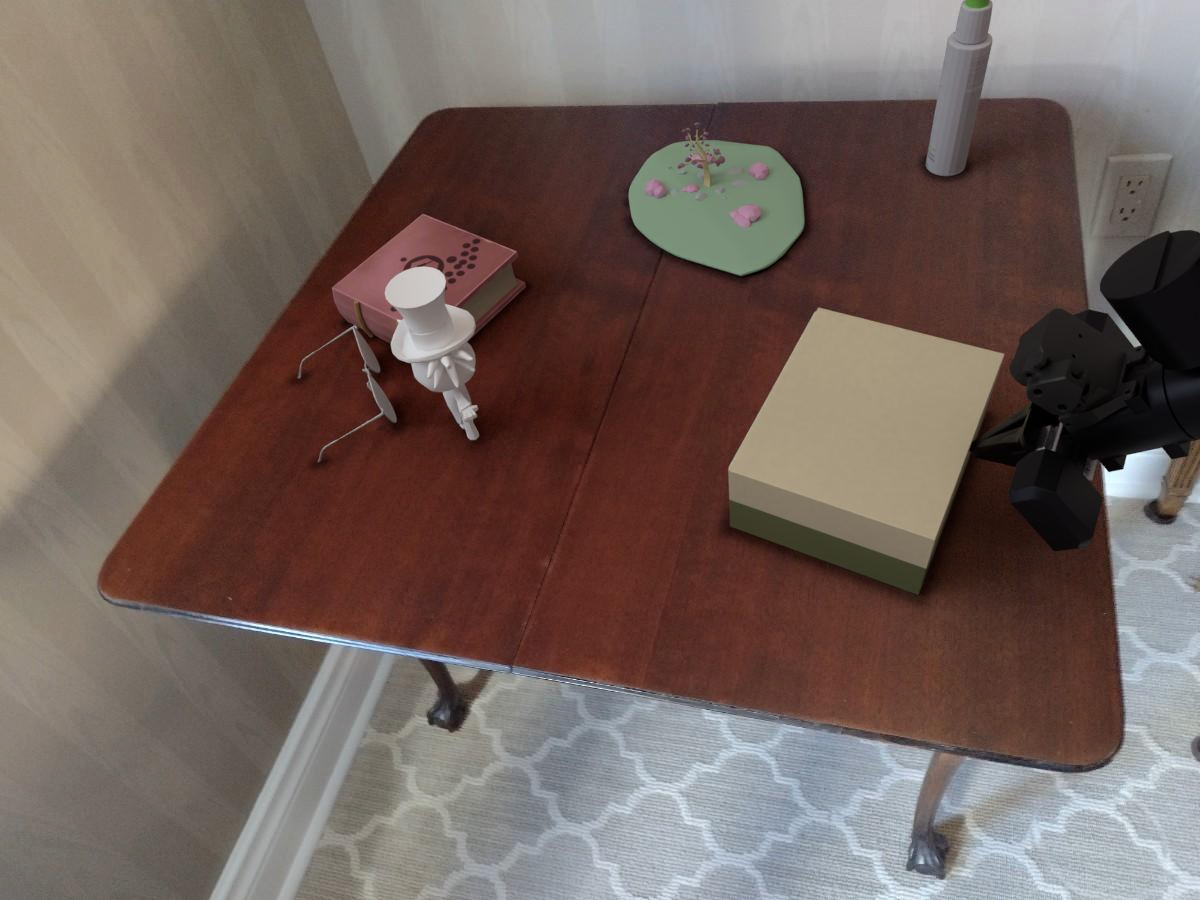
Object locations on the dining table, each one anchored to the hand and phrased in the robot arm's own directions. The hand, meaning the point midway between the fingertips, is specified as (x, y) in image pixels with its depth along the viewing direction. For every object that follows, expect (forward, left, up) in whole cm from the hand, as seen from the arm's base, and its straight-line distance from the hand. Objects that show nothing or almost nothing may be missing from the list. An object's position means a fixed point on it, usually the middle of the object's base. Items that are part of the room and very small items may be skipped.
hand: (973, 450), depth 69 cm
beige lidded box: (+6, -5, -7) cm, 11 cm away
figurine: (+40, -21, -7) cm, 46 cm away
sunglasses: (+52, -28, -7) cm, 59 cm away
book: (+42, -40, -7) cm, 58 cm away
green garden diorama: (+7, -46, -7) cm, 47 cm away
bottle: (-19, -44, -7) cm, 48 cm away
